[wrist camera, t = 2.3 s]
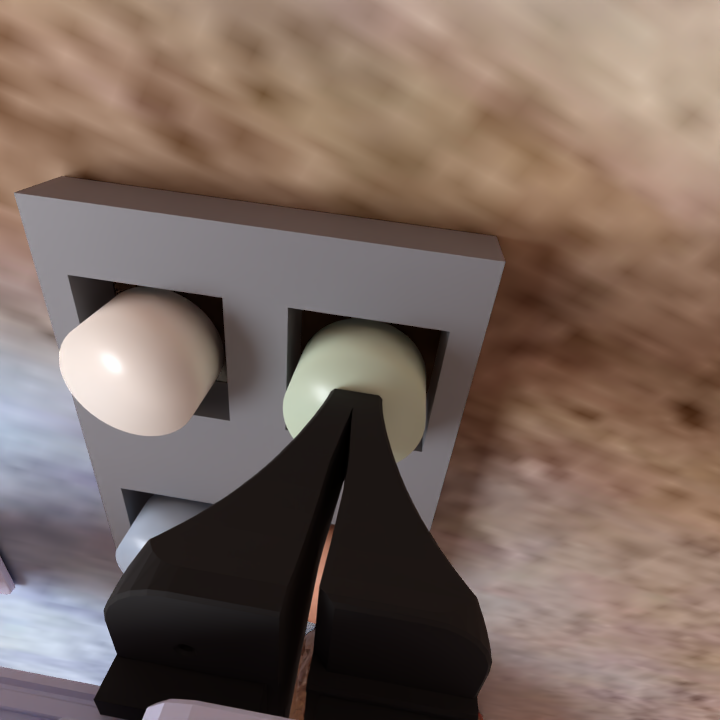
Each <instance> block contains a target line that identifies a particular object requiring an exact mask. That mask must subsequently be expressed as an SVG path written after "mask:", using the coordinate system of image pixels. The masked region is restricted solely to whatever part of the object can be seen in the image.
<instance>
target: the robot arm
mask: <svg viewBox="0 0 720 720" xmlns="http://www.w3.org/2000/svg"><path fill="white" fill-rule="evenodd" d="M382 401H383V399H382V398H381V397H380V396H379V395H374V394H367V393H361V392H355V391H348V390H342V389H336V388H335V389H334V390H332V391H331V392H330V393H329V395H328V397H327V398H326V400H325V401H324V403H323V404H322V406H321V407H320V408H319V410H318V411H317V412H316V414H315V415H314V416H313V417H312V419H311V420H310V421H309V422H308V423H307V424H306V426H305V427H304V428H303V429H302V430H301V432H300V433H299V434H298V435H297V436H296V437H295V438H294V439H293V440H292V441H291V442H290V443H289V444H288V445H287V446H286V447H285V448H284V449H283V450H282V451H281V452H280V453H279V454H278V455H277V456H276V457H275V458H274V459H273V460H272V461H271V462H270V463H268V464H267V465H266V466H265V467H264V468H263V469H261V470H260V471H259V472H258V473H257V474H255V475H254V476H253V477H252V478H250V479H249V480H248V481H246V482H245V483H244V484H242V485H241V486H240V487H238V488H237V489H236V490H234V491H233V492H231V493H230V494H229V495H227V496H226V497H224V498H223V499H221V500H219V501H218V502H216V503H215V504H213V505H211V506H210V507H208V508H207V509H205V510H203V511H202V512H200V513H199V514H197V515H195V516H194V517H192V518H190V519H188V520H186V521H185V522H183V523H181V524H179V525H177V526H175V527H173V528H171V529H169V530H167V531H165V532H163V533H161V534H159V535H157V536H155V537H153V538H151V539H149V540H148V541H147V543H146V544H145V545H144V546H143V548H142V549H141V550H140V551H139V553H138V554H137V555H136V557H135V558H134V559H133V561H132V562H131V563H130V565H129V566H128V567H127V569H126V571H125V572H124V574H123V575H122V577H121V579H120V581H119V582H118V584H117V586H116V587H115V589H114V591H113V593H112V594H111V596H110V598H109V600H108V601H107V604H106V606H105V608H104V616H105V621H106V624H107V627H108V630H109V633H110V636H111V638H112V641H113V644H114V647H115V650H116V652H117V655H116V657H115V659H114V661H113V663H112V665H111V667H110V669H109V671H108V673H107V675H106V676H105V678H104V680H103V682H102V684H101V686H97V685H92V684H87V683H82V682H77V681H71V680H66V679H61V678H56V677H51V676H46V675H41V674H35V673H30V672H25V671H20V670H15V669H10V668H5V667H0V720H294V719H289V715H290V710H291V704H292V699H293V694H294V689H295V683H296V678H297V673H298V668H299V663H300V658H301V652H302V647H303V642H304V637H305V632H306V627H307V622H308V617H309V612H310V607H311V602H312V597H313V592H314V587H315V582H316V577H317V573H318V568H319V563H320V559H321V556H322V552H323V548H324V545H325V542H326V538H327V535H328V532H329V528H330V525H331V522H332V519H333V515H334V512H335V509H336V505H337V502H338V499H339V495H340V492H341V489H342V485H343V482H344V488H343V493H342V497H341V501H340V505H339V510H338V514H337V518H336V522H335V527H334V531H333V535H332V539H331V543H330V547H329V551H328V555H327V559H326V562H325V566H324V570H323V574H322V578H321V582H320V585H319V593H318V604H317V615H316V626H315V637H314V647H313V654H312V659H311V664H310V669H309V674H308V679H307V684H306V702H305V714H304V720H478V702H477V695H478V693H479V691H480V689H481V687H482V685H483V683H484V682H485V680H486V678H487V676H488V674H489V672H490V668H491V664H492V658H491V649H490V643H489V638H488V634H487V629H486V626H485V622H484V618H483V615H482V612H481V609H480V605H479V602H478V600H477V597H476V596H475V595H474V593H473V592H472V591H471V590H470V589H469V587H468V586H467V585H466V584H465V582H464V581H463V580H462V578H461V577H460V576H459V575H458V573H457V572H456V571H455V569H454V568H453V567H452V565H451V564H450V562H449V561H448V559H447V558H446V557H445V555H444V554H443V552H442V551H441V550H440V548H439V546H438V545H437V543H436V542H435V540H434V538H433V537H432V535H431V533H430V532H429V530H428V529H427V527H426V525H425V524H424V522H423V520H422V519H421V517H420V515H419V513H418V511H417V509H416V507H415V505H414V503H413V501H412V499H411V497H410V495H409V493H408V491H407V489H406V487H405V484H404V482H403V479H402V477H401V475H400V472H399V469H398V467H397V464H396V461H395V458H394V455H393V452H392V449H391V445H390V442H389V439H388V435H387V431H386V426H385V421H384V416H383V406H382ZM14 588H15V584H14V582H13V580H12V578H11V576H10V575H9V573H8V571H7V569H6V567H5V565H4V563H3V561H2V559H1V557H0V593H1V594H10V593H11V592H12V591H13V589H14Z"/></svg>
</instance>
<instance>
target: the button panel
mask: <svg viewBox="0 0 720 720" xmlns="http://www.w3.org/2000/svg"><path fill="white" fill-rule="evenodd" d="M14 195H15V198H16V202H17V205H18V209H19V212H20V216H21V219H22V223H23V226H24V230H25V233H26V237H27V240H28V244H29V247H30V251H31V254H32V258H33V261H34V265H35V268H36V271H37V275H38V278H39V282H40V285H41V289H42V292H43V296H44V299H45V303H46V306H47V310H48V313H49V317H50V320H51V324H52V327H53V331H54V334H55V338H56V341H57V345H58V348H59V352H60V348H61V344H62V342H63V340H64V339H65V337H66V336H67V335H68V334H69V333H70V332H71V331H72V330H73V329H75V328H76V327H77V326H78V325H80V324H81V323H82V322H83V321H85V320H86V319H87V318H89V317H90V316H91V315H92V314H94V313H95V312H96V311H98V310H99V309H100V308H101V307H103V306H104V305H105V304H107V303H108V302H109V301H110V300H112V299H113V298H114V297H115V292H114V287H113V282H120V283H126V284H133V285H140V286H147V287H153V288H160V289H167V290H173V291H180V292H187V293H194V294H200V295H207V296H214V297H221V298H222V300H223V316H224V332H225V348H226V364H227V380H228V383H224V382H218V381H215V382H214V384H213V385H212V387H211V388H210V390H209V391H208V393H207V394H206V396H205V397H204V399H203V400H202V402H201V404H200V405H199V407H198V408H197V410H196V411H195V413H194V414H193V416H192V417H191V419H190V420H189V421H188V423H187V424H186V425H184V426H183V427H182V428H181V429H179V430H177V431H175V432H173V433H170V434H166V435H161V436H142V435H136V434H131V433H128V432H124V431H121V430H119V429H116V428H114V427H112V426H110V425H108V424H106V423H104V422H103V421H101V420H99V419H98V418H96V417H95V416H94V415H92V414H91V413H90V412H89V411H87V410H86V409H85V408H84V407H83V406H82V405H81V404H80V403H79V402H78V401H77V400H76V398H75V397H74V396H73V395H72V397H73V400H74V404H75V407H76V411H77V414H78V418H79V421H80V425H81V428H82V432H83V435H84V439H85V442H86V446H87V449H88V453H89V456H90V460H91V463H92V467H93V470H94V474H95V477H96V481H97V484H98V488H99V491H100V495H101V498H102V502H103V505H104V508H105V512H106V515H107V519H108V522H109V526H110V529H111V533H112V536H113V540H114V543H115V547H116V550H117V548H118V546H119V545H120V543H121V542H122V540H123V538H124V537H125V535H126V534H127V532H128V530H129V529H130V527H131V526H132V524H133V522H134V521H135V519H136V518H137V516H138V515H139V513H140V511H141V510H142V508H143V507H144V505H145V503H146V502H147V500H148V499H149V498H150V497H152V496H153V495H154V494H158V495H164V496H170V497H176V498H182V499H188V500H193V501H199V502H205V503H211V504H215V503H216V502H218V501H219V500H221V499H223V498H224V497H226V496H227V495H229V494H230V493H231V492H233V491H234V490H236V489H237V488H238V487H240V486H241V485H242V484H244V483H245V482H246V481H248V480H249V479H250V478H252V477H253V476H254V475H255V474H257V473H258V472H259V471H260V470H261V469H263V468H264V467H265V466H266V465H267V464H268V463H270V462H271V461H272V460H273V459H274V458H275V457H276V456H277V455H278V454H279V453H280V452H281V451H282V450H283V449H284V448H285V447H286V446H287V445H288V444H289V443H290V442H291V441H292V440H293V439H294V438H293V437H292V436H291V434H290V432H289V431H288V429H287V426H286V424H285V420H284V416H283V400H284V396H285V393H286V391H287V388H288V386H289V384H290V381H291V379H292V376H293V374H294V372H295V369H296V367H297V365H298V362H299V360H300V358H301V332H302V310H308V311H315V312H321V313H328V314H335V315H342V316H348V317H355V318H362V319H368V320H375V321H382V322H389V323H395V324H402V325H409V326H416V327H422V328H429V329H436V330H441V335H440V339H439V344H438V348H437V353H436V357H435V362H434V366H433V371H432V375H431V380H430V384H429V389H428V393H427V398H426V422H425V430H424V433H423V436H422V438H421V440H420V442H419V444H418V445H417V447H416V448H415V449H414V450H413V451H412V452H411V453H410V454H409V455H408V456H407V457H405V458H404V459H403V460H401V461H399V462H397V463H396V464H397V467H398V469H399V472H400V475H401V477H402V479H403V482H404V484H405V487H406V489H407V491H408V493H409V495H410V497H411V499H412V501H413V503H414V505H415V507H416V509H417V511H418V513H419V515H420V517H421V519H422V520H423V522H424V524H425V525H426V527H427V529H428V530H429V532H430V529H431V525H432V522H433V518H434V514H435V511H436V507H437V504H438V500H439V497H440V493H441V490H442V486H443V482H444V479H445V475H446V472H447V468H448V465H449V461H450V458H451V454H452V450H453V447H454V443H455V440H456V436H457V433H458V429H459V426H460V422H461V418H462V415H463V411H464V408H465V404H466V401H467V397H468V393H469V390H470V386H471V383H472V379H473V376H474V372H475V369H476V365H477V361H478V358H479V354H480V351H481V347H482V344H483V340H484V337H485V333H486V329H487V326H488V322H489V319H490V315H491V312H492V308H493V305H494V301H495V297H496V294H497V290H498V287H499V283H500V280H501V276H502V272H503V269H504V265H505V259H504V256H503V253H502V250H501V248H500V245H499V242H498V239H497V236H491V235H484V234H477V233H469V232H462V231H455V230H448V229H441V228H433V227H426V226H419V225H412V224H404V223H397V222H390V221H383V220H375V219H368V218H361V217H354V216H347V215H339V214H332V213H325V212H318V211H310V210H303V209H296V208H289V207H281V206H274V205H267V204H260V203H253V202H245V201H238V200H231V199H224V198H216V197H209V196H202V195H195V194H187V193H180V192H173V191H166V190H159V189H151V188H144V187H137V186H130V185H122V184H115V183H108V182H101V181H93V180H86V179H79V178H72V177H65V176H61V177H58V178H55V179H52V180H49V181H46V182H44V183H41V184H38V185H35V186H32V187H29V188H26V189H23V190H20V191H17V192H14ZM112 281H113V282H112ZM343 488H344V482H343V485H342V489H341V492H340V495H339V499H338V502H337V505H336V509H335V512H334V515H333V519H332V522H331V524H334V525H335V522H336V518H337V514H338V510H339V505H340V501H341V497H342V493H343ZM123 574H124V573H123Z"/></svg>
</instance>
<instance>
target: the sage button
mask: <svg viewBox="0 0 720 720" xmlns="http://www.w3.org/2000/svg"><path fill="white" fill-rule="evenodd" d="M335 388H336V389H342V390H348V391H355V392H361V393H367V394H374V395H379V396H380V397H381V398H382V399H383V401H382V406H383V416H384V421H385V426H386V431H387V435H388V439H389V442H390V445H391V449H392V452H393V455H394V458H395V461H396V463H397V462H399V461H401V460H403V459H404V458H405V457H407V456H408V455H409V454H410V453H411V452H412V451H413V450H414V449H415V448H416V447H417V445H418V444H419V442H420V440H421V438H422V436H423V433H424V430H425V422H426V367H425V363H424V360H423V357H422V355H421V353H420V351H419V349H418V348H417V346H416V345H415V344H414V342H413V341H412V340H411V339H410V338H409V337H408V336H406V335H405V334H404V333H403V332H401V331H400V330H398V329H397V328H395V327H393V326H391V325H389V324H387V323H384V322H381V321H375V320H368V319H362V318H351V319H344V320H340V321H337V322H334V323H331V324H329V325H327V326H325V327H324V328H322V329H320V330H319V331H318V332H317V333H315V334H314V336H313V337H312V338H311V339H310V340H309V342H308V343H307V345H306V346H305V349H304V351H303V353H302V355H301V358H300V360H299V362H298V365H297V367H296V369H295V372H294V374H293V376H292V379H291V381H290V384H289V386H288V388H287V391H286V393H285V396H284V400H283V416H284V420H285V424H286V426H287V429H288V431H289V432H290V434H291V436H292V437H293V438H295V437H296V436H297V435H298V434H299V433H300V432H301V430H302V429H303V428H304V427H305V426H306V424H307V423H308V422H309V421H310V420H311V419H312V417H313V416H314V415H315V414H316V412H317V411H318V410H319V408H320V407H321V406H322V404H323V403H324V401H325V400H326V398H327V397H328V395H329V393H330V392H331V391H332V390H334V389H335Z"/></svg>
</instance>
